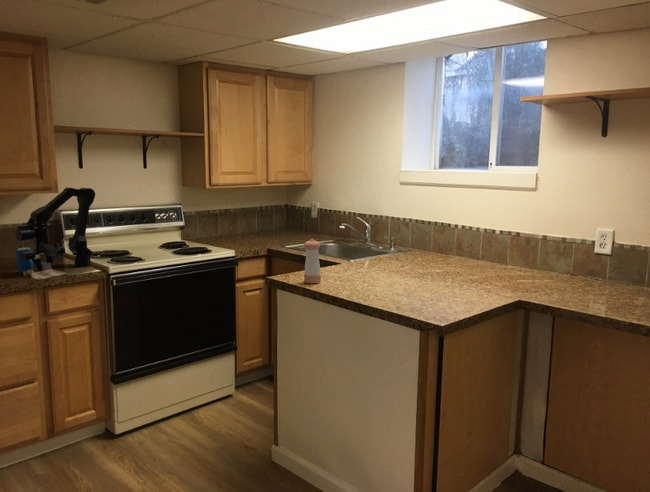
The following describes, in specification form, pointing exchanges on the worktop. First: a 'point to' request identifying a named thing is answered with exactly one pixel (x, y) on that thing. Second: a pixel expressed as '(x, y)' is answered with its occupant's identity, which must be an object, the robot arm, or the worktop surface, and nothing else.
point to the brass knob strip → (29, 273)
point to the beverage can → (24, 261)
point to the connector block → (45, 266)
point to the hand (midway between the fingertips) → (44, 271)
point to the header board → (44, 273)
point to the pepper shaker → (312, 262)
